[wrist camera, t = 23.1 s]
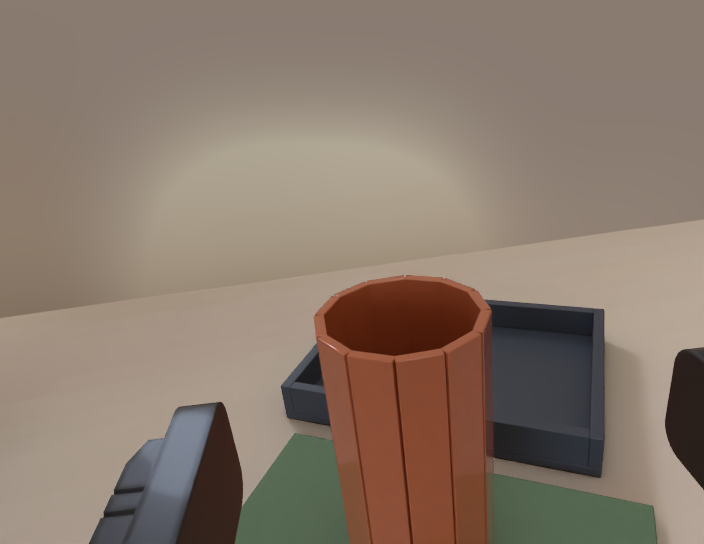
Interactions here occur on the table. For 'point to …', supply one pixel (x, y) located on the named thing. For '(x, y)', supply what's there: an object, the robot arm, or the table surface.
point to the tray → (520, 386)
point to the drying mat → (509, 507)
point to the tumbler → (411, 409)
